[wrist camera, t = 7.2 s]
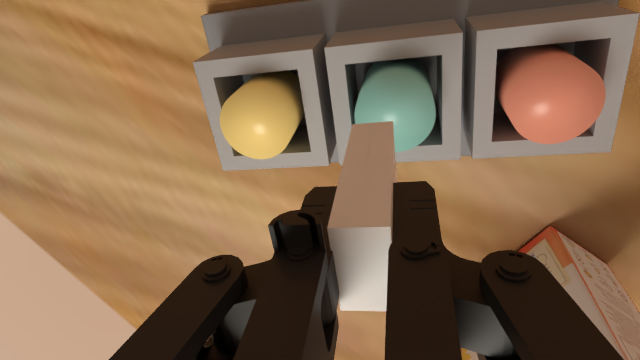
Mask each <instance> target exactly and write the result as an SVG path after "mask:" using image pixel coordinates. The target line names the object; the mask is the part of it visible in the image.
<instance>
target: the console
mask: <svg viewBox="0 0 640 360" xmlns="http://www.w3.org/2000/svg"><path fill="white" fill-rule="evenodd" d="M618 1H619V0H302V1H294V2H287V3H280V4H272V5H265V6H258V7H250V8H243V9H236V10H228V11H221V12H214V13H207V14H205V15H202V16H201V18H202V22H203V26H204V30H205V34H206V38H207V41H208V45H209V49H210V53H208V54H206V55H204V56H203V57H201V58H199V59H198V60H196V61H194V62H193V65H194V69H195V72H196V76H197V79H198V83H199V86H200V90H201V94H202V97H203V101H204V104H205V108H206V111H207V115H208V118H209V122H210V126H211V129H212V133H213V136H214V140H215V143H216V147H217V150H218V154H219V158H220V161H221V165H222V168H223V171H228V170H249V169H270V168H291V167H312V166H329V165H330V163H332V162H339V163H340V165H343V161H344V157H345V153H346V149H347V144H348V140H349V136H350V132H351V128H352V124H355V116H354V113H355V107H356V103H357V99H358V96H359V92H360V89H361V85H362V82H363V78H364V76H365V74H366V72H367V70H368V69H369V68H370V66H371V65H372V64H373V63H375V62H376V61H385V60H395V59H405V58H414V59H416V60H417V61H419V62H420V63H421V64H422V65H423V66H424V68H425V69H426V71H427V73H428V75H429V78H430V83H431V88H432V93H433V98H434V103H435V108H436V118H435V123H434V126H433V129H432V130H431V132H430V134H429V135H428V137H427V138H426V139H425V140H424V141H423V142H422V143H420V144H419V145H417V146H416V147H414V148H412V149H409V150H406V151H402V152H395V159H396V162H416V161H437V160H457V159H460V156H472V159H478V158H499V157H520V156H541V155H562V154H582V153H603V152H611V149H612V144H613V139H614V134H615V130H616V125H617V120H618V115H619V110H620V105H621V101H622V96H623V91H624V86H625V81H626V76H627V72H628V67H629V62H630V57H631V52H632V48H633V43H634V38H635V33H636V28H637V23H638V19H639V14H640V13H638V12H634V11H631V10H628V9H625V8H621V7H618ZM545 44H557V45H559V46H560V47H562V48H563V49H565V50H566V51H568V52H569V53H571V54H572V55H574V56H575V57H577V58H578V59H579V60H581V61H582V62H584V63H585V64H587V65H588V66H590V67H591V68H593V69H594V70H595V71H596V72H597V73H598V74H599V75H600V77H601V78H602V80H603V83H604V86H605V92H606V97H605V103H604V107H603V109H602V112H601V113H600V115H599V117H598V118H597V120H596V121H595V122H594V123H593V124H592V126H591V127H590V128H588V129H587V130H586V131H585V132H583V133H582V134H580V135H579V136H577V137H575V138H573V139H571V140H568V141H565V142H561V143H556V144H541V143H536V142H533V141H530V140H528V139H526V138H524V137H523V136H522V135H520V134H519V133H518V131H517V130H516V129H515V127H514V126H513V124H512V123H511V121H510V119H509V117H508V116H507V114H506V112H505V111H504V109H503V107H502V106H501V104H500V102H499V101H498V99H497V97H496V95H495V77H496V66H497V64H498V62H499V61H500V59H501V58H502V57H503V56H504V55H505V54H506V53H507V52H508V51H509V50H510V49H512V48H515V47H525V46H535V45H545ZM286 70H289V71H291V72H292V73H294V74H295V75H296V76H297V77H298V78H299V82H300V88H301V94H302V100H303V106H304V112H305V115H304V117H303V119H302V120H301V122H300V124H299V126H298V127H297V129H296V131H295V133H294V135H293V136H292V138H291V140H290V142H289V143H288V145H287V147H286V148H285V149H284V150H283V151H282V152H281V153H280V154H278V155H276V156H274V157H272V158H268V159H253V158H249V157H247V156H244V155H242V154H240V153H239V152H237V151H236V150H235V149H234V148H233V147H232V146H231V145H230V144H229V143H228V142H227V140H226V139H225V137H224V135H223V133H222V130H221V126H220V113H221V109H222V106H223V105H224V103H225V101H226V100H227V99H228V98H229V97H230V96H231V95H232V94H233V93H235V92H236V91H237V90H238V89H239V88H240V87H241V86H242V85H243V84H245V83H246V82H247V81H248V80H249V79H250V78H251V77H252V76H253V75H255V74H256V73H266V72H276V71H286Z"/></svg>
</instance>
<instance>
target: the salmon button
mask: <svg viewBox="0 0 640 360" xmlns="http://www.w3.org/2000/svg"><path fill="white" fill-rule="evenodd" d="M495 95H496V97H497V99H498V101H499V102H500V104H501V106H502V107H503V109H504V111H505V112H506V114H507V116H508V117H509V119H510V121H511V123H512V124H513V126H514V127H515V129H516V130H517V131H518V133H519V134H520V135H522V136H523V137H524V138H526V139H528V140H530V141H533V142H536V143H541V144H556V143H561V142H565V141H568V140H571V139H573V138H575V137H577V136H579V135H580V134H582V133H583V132H585V131H586V130H587V129H588V128H590V127H591V126H592V124H593V123H594V122H595V121H596V120H597V118H598V117H599V115H600V113H601V112H602V109H603V107H604V103H605V97H606V92H605V86H604V83H603V80H602V78H601V77H600V75H599V74H598V73H597V72H596V71H595V70H594V69H593V68H591V67H590V66H588V65H587V64H585V63H584V62H582V61H581V60H579V59H578V58H577V57H575V56H574V55H572V54H571V53H569V52H568V51H566V50H565V49H563V48H562V47H560V46H559V45H557V44H545V45H535V46H525V47H515V48H512V49H510V50H509V51H508V52H507V53H506V54H505V55H504V56H503V57H502V58H501V59H500V61H499V62H498V64H497V66H496V77H495Z"/></svg>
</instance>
